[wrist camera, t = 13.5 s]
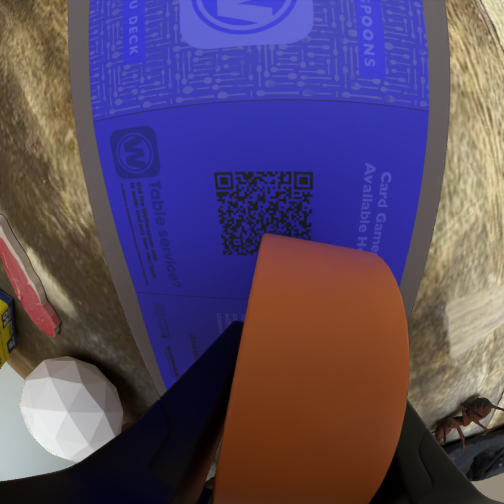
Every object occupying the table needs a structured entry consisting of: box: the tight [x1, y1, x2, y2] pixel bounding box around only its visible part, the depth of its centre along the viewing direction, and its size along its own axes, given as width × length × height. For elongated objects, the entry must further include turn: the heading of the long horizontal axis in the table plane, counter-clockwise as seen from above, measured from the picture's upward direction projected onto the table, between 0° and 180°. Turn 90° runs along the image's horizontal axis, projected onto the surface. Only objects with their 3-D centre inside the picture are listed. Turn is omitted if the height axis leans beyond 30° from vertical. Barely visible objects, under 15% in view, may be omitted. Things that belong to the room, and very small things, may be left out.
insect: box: [431, 398, 504, 453], centre depth 17 cm, size 8×9×3 cm
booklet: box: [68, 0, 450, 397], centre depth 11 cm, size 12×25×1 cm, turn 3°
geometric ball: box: [19, 356, 123, 462], centre depth 16 cm, size 8×8×8 cm
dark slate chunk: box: [443, 428, 504, 482], centre depth 22 cm, size 15×22×5 cm
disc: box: [211, 233, 409, 504], centre depth 8 cm, size 8×3×8 cm
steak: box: [0, 215, 61, 338], centre depth 15 cm, size 10×1×3 cm
